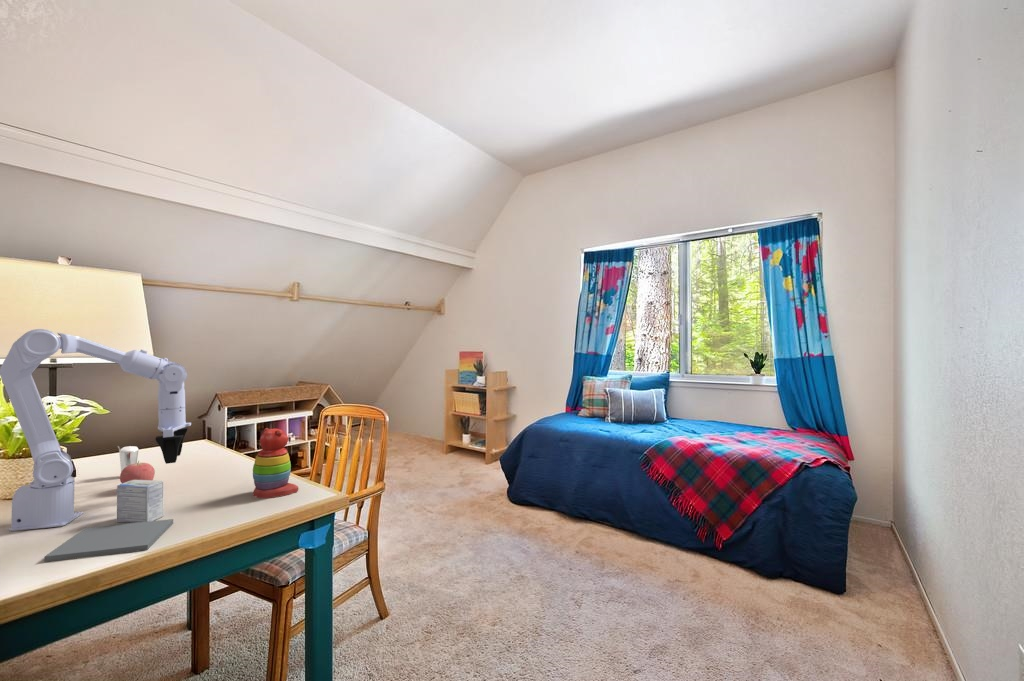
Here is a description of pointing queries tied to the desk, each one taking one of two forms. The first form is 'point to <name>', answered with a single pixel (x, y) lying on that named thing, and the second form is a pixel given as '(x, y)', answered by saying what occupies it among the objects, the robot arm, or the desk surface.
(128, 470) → the apple
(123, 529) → the mat
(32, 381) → the robot arm
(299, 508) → the desk surface
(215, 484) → the desk surface
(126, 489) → the medicine box
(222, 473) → the desk surface
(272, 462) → the stacking bear
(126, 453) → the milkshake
